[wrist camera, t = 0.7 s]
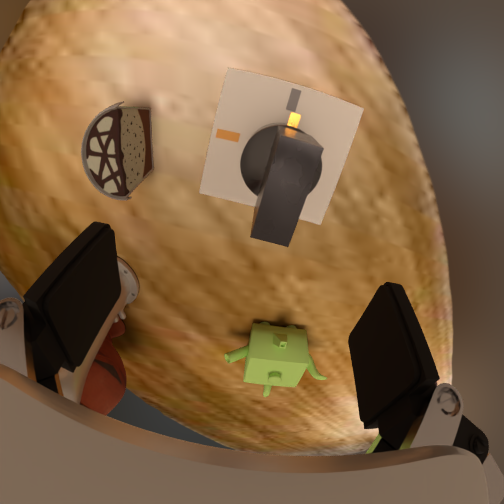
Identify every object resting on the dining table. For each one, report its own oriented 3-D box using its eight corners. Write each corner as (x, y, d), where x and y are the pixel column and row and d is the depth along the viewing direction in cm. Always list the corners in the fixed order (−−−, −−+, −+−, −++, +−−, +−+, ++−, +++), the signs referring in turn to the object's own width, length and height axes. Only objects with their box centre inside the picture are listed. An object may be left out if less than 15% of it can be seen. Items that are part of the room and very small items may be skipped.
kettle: (322, 340, 55) (328, 384, 46) (269, 362, 60) (267, 404, 51) (283, 300, 49) (284, 348, 40) (226, 328, 55) (218, 374, 45)
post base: (318, 220, 40) (326, 244, 34) (201, 189, 39) (188, 208, 33) (360, 108, 31) (378, 111, 25) (229, 68, 29) (219, 62, 23)
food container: (114, 103, 32) (73, 111, 23) (150, 98, 32) (114, 102, 23) (120, 179, 38) (85, 204, 30) (154, 178, 38) (124, 204, 30)
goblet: (115, 352, 65) (83, 427, 44) (66, 303, 56) (19, 378, 35) (161, 340, 59) (130, 435, 38) (106, 281, 50) (47, 378, 29)
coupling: (303, 199, 31) (317, 254, 21) (236, 181, 30) (218, 229, 21) (329, 124, 26) (363, 142, 16) (257, 102, 25) (248, 105, 16)
